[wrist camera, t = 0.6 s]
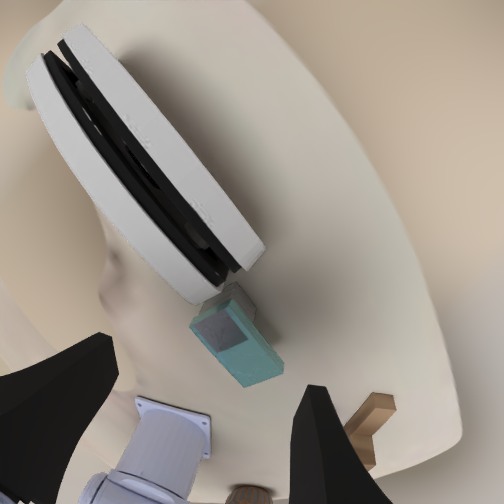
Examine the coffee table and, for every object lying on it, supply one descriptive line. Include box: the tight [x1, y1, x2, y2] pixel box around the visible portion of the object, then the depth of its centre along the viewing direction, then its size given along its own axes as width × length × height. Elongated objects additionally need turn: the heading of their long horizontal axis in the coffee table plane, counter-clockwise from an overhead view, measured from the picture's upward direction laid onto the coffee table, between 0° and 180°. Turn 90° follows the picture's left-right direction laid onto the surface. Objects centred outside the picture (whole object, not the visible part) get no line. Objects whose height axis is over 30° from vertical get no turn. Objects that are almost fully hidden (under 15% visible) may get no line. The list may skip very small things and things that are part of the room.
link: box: [343, 393, 396, 471], centre depth 21 cm, size 14×5×5 cm, turn 164°
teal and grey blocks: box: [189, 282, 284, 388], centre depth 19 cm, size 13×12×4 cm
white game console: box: [26, 23, 266, 305], centre depth 13 cm, size 17×5×10 cm, turn 38°
